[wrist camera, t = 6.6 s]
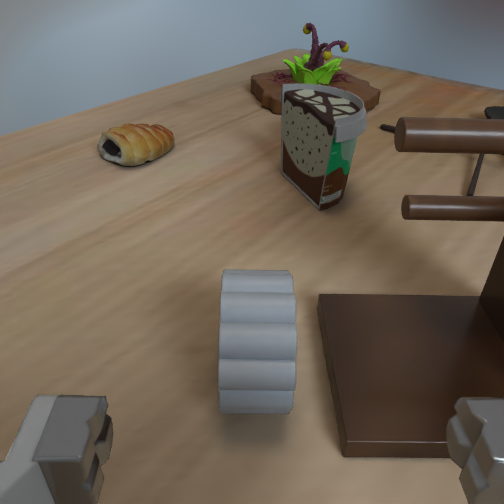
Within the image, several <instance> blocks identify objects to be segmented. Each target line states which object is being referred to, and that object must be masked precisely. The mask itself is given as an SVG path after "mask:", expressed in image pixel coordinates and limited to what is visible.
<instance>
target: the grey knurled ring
mask: <svg viewBox="0 0 504 504" xmlns="http://www.w3.org/2000/svg"><path fill="white" fill-rule="evenodd" d="M295 322H296V300H295V294H294V293H293V277H292V275H291V274H290V273H289V271H288V270H231V269H225V270H224V271H223V274H222V284H221V296H220V325H219V365H218V389H219V409H220V413H241V414H289V412H290V410H292V408H293V391H294V390H295V385H296V360H295V358H296V353H297V330H296V324H295Z"/></svg>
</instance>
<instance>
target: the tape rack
mask: <svg viewBox="0 0 504 504" xmlns="http://www.w3.org/2000/svg"><path fill="white" fill-rule="evenodd" d="M394 143H395V148H396V150H397V151H398V152H426V153H472V154H504V119H461V118H417V117H402V118H400V119H399V120H398V122H397V125H396V128H395V135H394ZM401 211H402V217H403V218H404V219H405V220H450V221H504V197H487V196H436V195H405V196H404V198H403V201H402V206H401ZM317 310H318V316H319V322H320V327H321V333H322V339H323V345H324V350H325V356H326V362H327V367H328V373H329V379H330V384H331V390H332V396H333V401H334V407H335V413H336V418H337V424H338V430H339V435H340V441H341V447H342V452H343V457H405V458H451V456H450V453H449V451H448V446H447V442H446V427H447V424H448V422H449V419H450V418H452V417H453V416H455V415H456V414H457V412H456V410H455V404H456V402H457V400H458V399H459V398H461V397H504V237H503V240H502V242H501V245H500V247H499V250H498V252H497V255H496V257H495V260H494V263H493V265H492V268H491V270H490V273H489V275H488V278H487V280H486V283H485V285H484V288H483V291H482V293H481V296H435V295H370V294H319V298H318V305H317Z"/></svg>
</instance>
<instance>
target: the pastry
mask: <svg viewBox="0 0 504 504" xmlns="http://www.w3.org/2000/svg"><path fill="white" fill-rule="evenodd" d="M173 145H174V136H173V133H172V132H171V131H169V130H168V129H166V128H165V127H163V126H161V125H151V126H150V125H148V124H136V125H134V124H124V125H122V126H121V127H114V128H110V129H109V131H107V132H103V133H102V136H101V138H100V140H99V144H98V151H99V152H100V153H101V155H102V157H103V158H104V159H106V160H108V161H110V162H116V163H118V164H121V165H124V166H136V165H140V164H143V163H144V162H145V161H147V160H150V161H152V160H155V159H157V158H158V157H160V156H162V155H163V154H164V155H165V154H166V153H167V152H169V150H171V149H172V147H173Z"/></svg>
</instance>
